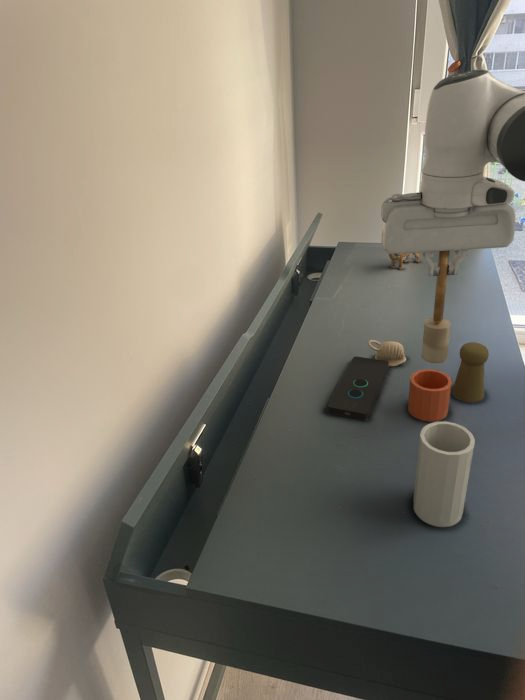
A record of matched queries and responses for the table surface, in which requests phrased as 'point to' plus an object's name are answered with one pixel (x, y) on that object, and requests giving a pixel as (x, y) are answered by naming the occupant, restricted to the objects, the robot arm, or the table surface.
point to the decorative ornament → (389, 352)
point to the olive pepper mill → (471, 373)
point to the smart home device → (358, 388)
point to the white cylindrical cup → (442, 473)
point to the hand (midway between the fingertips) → (442, 274)
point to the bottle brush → (437, 319)
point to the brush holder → (429, 395)
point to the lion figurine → (400, 257)
